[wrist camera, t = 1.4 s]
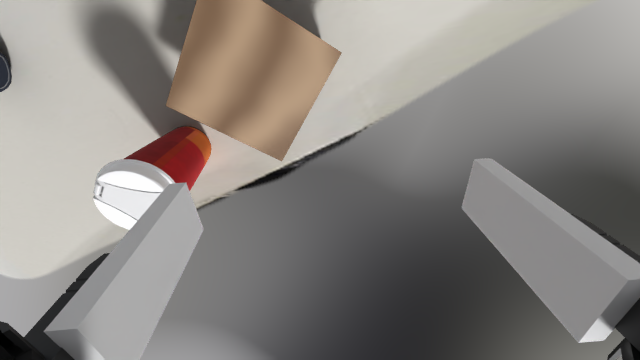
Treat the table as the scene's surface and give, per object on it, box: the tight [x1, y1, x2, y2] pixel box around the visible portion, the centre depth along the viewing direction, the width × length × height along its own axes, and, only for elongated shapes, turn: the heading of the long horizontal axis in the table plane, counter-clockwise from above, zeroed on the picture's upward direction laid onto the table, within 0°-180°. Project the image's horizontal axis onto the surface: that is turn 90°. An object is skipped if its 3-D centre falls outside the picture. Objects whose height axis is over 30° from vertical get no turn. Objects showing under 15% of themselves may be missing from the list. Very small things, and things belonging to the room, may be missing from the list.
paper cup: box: [93, 126, 211, 230], centre depth 30 cm, size 8×8×14 cm
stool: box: [166, 0, 341, 161], centre depth 29 cm, size 13×13×7 cm
